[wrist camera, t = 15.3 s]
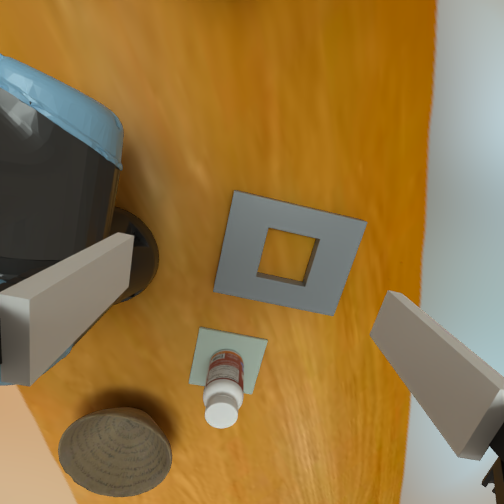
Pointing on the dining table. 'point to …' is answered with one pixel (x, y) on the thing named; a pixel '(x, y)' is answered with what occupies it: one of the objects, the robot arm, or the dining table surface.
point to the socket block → (295, 221)
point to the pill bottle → (224, 388)
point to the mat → (221, 340)
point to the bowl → (116, 452)
